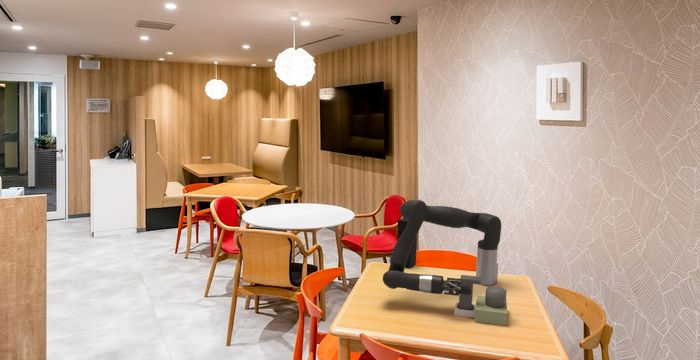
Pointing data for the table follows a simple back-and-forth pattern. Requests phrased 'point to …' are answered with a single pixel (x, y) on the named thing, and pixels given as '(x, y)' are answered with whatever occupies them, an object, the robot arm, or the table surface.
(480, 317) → the green block with cylinder
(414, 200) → the robot arm
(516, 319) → the table surface
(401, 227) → the black upright block
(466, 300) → the dark grey angled block
